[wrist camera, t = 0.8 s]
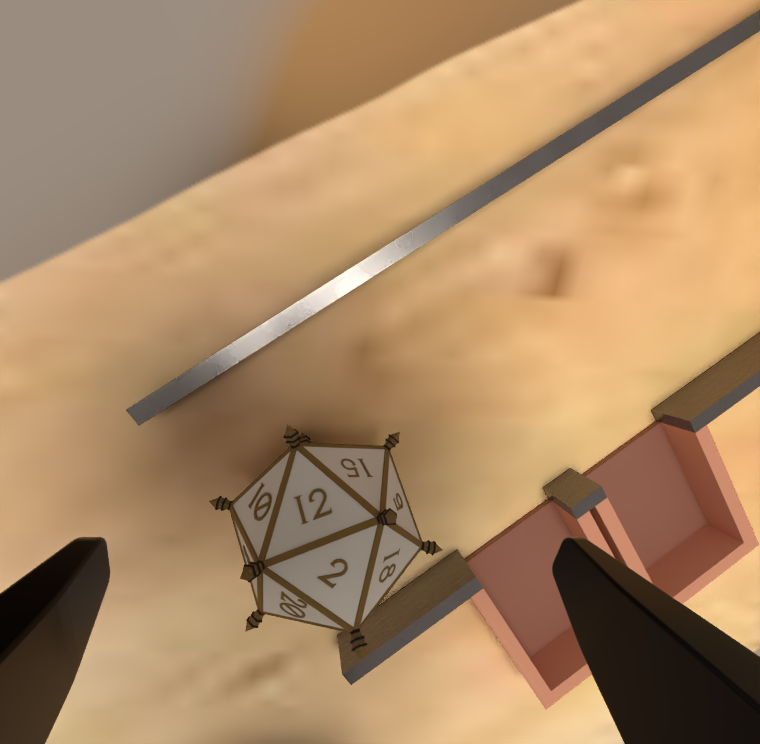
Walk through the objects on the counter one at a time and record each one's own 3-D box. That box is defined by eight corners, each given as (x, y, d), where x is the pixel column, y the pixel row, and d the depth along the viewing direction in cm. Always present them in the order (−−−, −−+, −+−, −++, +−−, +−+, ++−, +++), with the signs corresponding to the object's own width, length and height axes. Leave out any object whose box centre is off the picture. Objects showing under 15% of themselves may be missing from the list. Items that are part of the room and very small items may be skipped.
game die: (340, 483, 26) (399, 673, 19) (190, 487, 21) (199, 739, 14) (413, 379, 21) (526, 582, 14) (241, 353, 16) (291, 636, 10)
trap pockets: (522, 671, 26) (545, 709, 23) (452, 567, 24) (470, 597, 21) (717, 523, 27) (759, 544, 24) (666, 413, 25) (706, 424, 22)
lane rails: (345, 645, 23) (351, 685, 21) (147, 397, 19) (125, 409, 17) (848, 282, 26) (905, 279, 24) (763, 8, 22) (820, -29, 20)
